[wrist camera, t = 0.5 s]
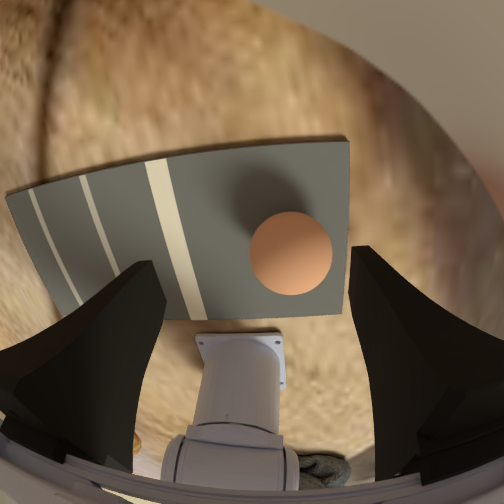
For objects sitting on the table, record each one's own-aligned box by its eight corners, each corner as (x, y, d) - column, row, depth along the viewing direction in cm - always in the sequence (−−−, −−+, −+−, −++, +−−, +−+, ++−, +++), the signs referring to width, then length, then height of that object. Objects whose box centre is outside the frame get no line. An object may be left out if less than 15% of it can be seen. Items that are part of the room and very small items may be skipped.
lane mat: (340, 310, 25) (341, 314, 24) (63, 312, 28) (61, 315, 28) (348, 140, 17) (349, 142, 17) (7, 195, 21) (4, 197, 20)
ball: (326, 260, 22) (336, 309, 17) (256, 264, 22) (251, 314, 18) (326, 196, 19) (340, 236, 15) (247, 200, 20) (239, 242, 15)
